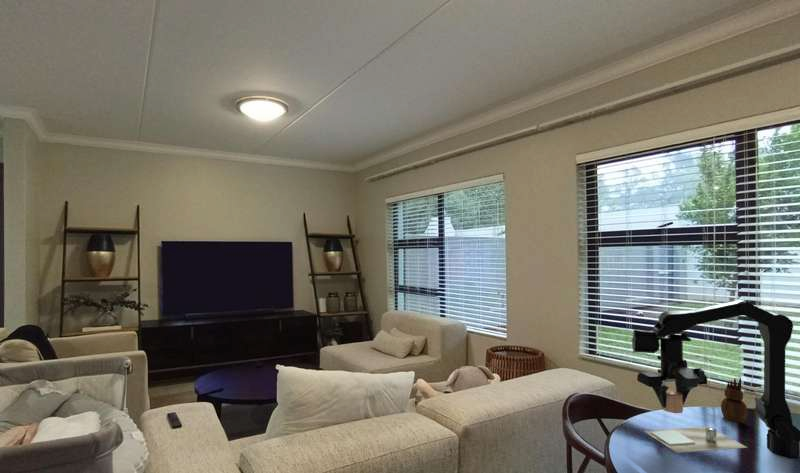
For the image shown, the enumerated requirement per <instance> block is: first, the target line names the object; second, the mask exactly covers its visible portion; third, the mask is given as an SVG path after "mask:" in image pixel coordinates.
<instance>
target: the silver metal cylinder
mask: <svg viewBox="0 0 800 473" xmlns="http://www.w3.org/2000/svg"><path fill="white" fill-rule="evenodd" d="M705 427H706V441H707V442H710V443H716V442H717V436H716V431H717V429H716V428H714V427H710V426H705Z"/></svg>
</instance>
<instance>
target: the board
mask: <svg viewBox="0 0 800 473" xmlns="http://www.w3.org/2000/svg"><path fill="white" fill-rule="evenodd" d="M706 427H707V426H699V427H697V426H696V427H685V428H684V427H683V428H682V427H681V428H669V429H666V428H665V429H649V430H643V432H644V433H646V434H648V435H649V436H651V437H652V438H653V439H655V440H657V441H658V442H660V443H661V444H662V445H664V446H666V447H668V448H669V449H670V450H672V451H673V452H675V453H677V454H678V453H681V454H682V453H691V452H706V451H709V452H710V451H720V450H734V449H737V450H738V449H747V448H748V447H747V446H745V445H744V444H742V443H740V442H738V441H737V440H734V439H732V438H730V437H729V436H727V435H725V434H723V433H721V432H719V431H717V430H716V436H717V442H716V443H710V442H707V441H706ZM672 430H675V431H677V432H679V433H680V434H682V435H684V436H685V437H687V438H689V439H691V440H692V441H694V442H695V444H687V445H673V446H669V445H668V444H666V443H665V442H663V441H662V440H660V439H659V438H657V437H656V436H654V435H652V434H651V432H656V431H672Z"/></svg>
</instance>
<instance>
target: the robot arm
mask: <svg viewBox="0 0 800 473" xmlns="http://www.w3.org/2000/svg"><path fill="white" fill-rule="evenodd" d="M741 316H745V317H746V318H748V319H751V320H753V321H755V322H756V323H757V326H758V330H759V333H760V336H761V339H762V341H763V345H764V346H763V355H764V356H763V394H762V395H761V397H757V396H755V397H754V401H755V407H754V412H756V413H757V416H758V417H759V419H760V420H761V421H762V422H763V423H764V424H765V426H766V427H767V428H768V429H767V433H766V448H768V450H769V451H770V452H771V453H773V454H775V455H777V456H779V457H784V458H786V459H789V460H794V459H800V430H799V429H798V428H797V427H796V426H795V425H794V423H793V418H792V417H793V416H792V413H791V409H790V407H789V405H788V402H787V400H786V349H787V348H786V347H787V345H788V344H789V342H790V340H791V338H792V335H793V334H792V333H793V329H794V324H793V323H794V322H793V321H792V319H791V318H789V317H788V316H786V315H784V314H781V313H778V312H775V311H771V310H769V311H768V310H765V309H763V308H760V307H758V306H756V305H754V304H752V303H751V302H749V301H747V300H744V299H736V300H733V301H729V302H725V303H721V304H716V305H710V306H706V307H702V308H701V307H700V308H696V309H691V310H690V309H689V310H666V311H663V312H661V313H660V314H659V317H658V320H657V322H656V324H655V325H654V326H653V327H652V328H651V330H642V329H638V328H637V329H633V334H632V338H631V345H632V351H633V353H645V354H655V353H656V352H658V351H659V350H660V355H657V360H659V361H660V368H658V369H657V373H658V374H656V373H654V372H652V371H641V372H640V371H639V372H638V374H637V379H636V380H637V382H639V383H640V384H643V385H645V386H647V387H650V388H652V389H653V392H654V393H655V395H656V397H657V399H658V401H659V403H660V405H661V408H662V407H664V408H666V391H667V390H669V388H670V387H669V386H667V385H666V382H674V384H675V389H676V390H675V391H677V392H680V393H682V395H683V406H684V404H685V402H686V400H687V398H688V395H689V393H690V391H691V390H693V389H694V388H698V386H699V385H707V384H708V377H707V375H706V374H705V371H704V369H702V368H701V367H694V368H693V367H692V368H691V367H689V366H688V362H687V359H684V348H683V347H684V343H683V342H691V341H692V339H691V338H690V337H688V335H687V334H686V332H685V331H688V330H690V329H691V328H693V327H695V326H698V325H701V324H706V323H710V322H716V321H720V320H726V319H731V318H736V317H741Z"/></svg>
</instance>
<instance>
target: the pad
mask: <svg viewBox="0 0 800 473" xmlns="http://www.w3.org/2000/svg"><path fill="white" fill-rule="evenodd" d="M651 434H652V435H654V436H656V437H657V438H659V439H660V440H662V441H663V442H665V443H666V444H668V445H669V446H673V445H687V444H695V442H694V441H692V440H691V439H689V438H687V437H685V436H684V435H682V434H680V433H679V432H677V431H675V430H672V431H656V432H651Z"/></svg>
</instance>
